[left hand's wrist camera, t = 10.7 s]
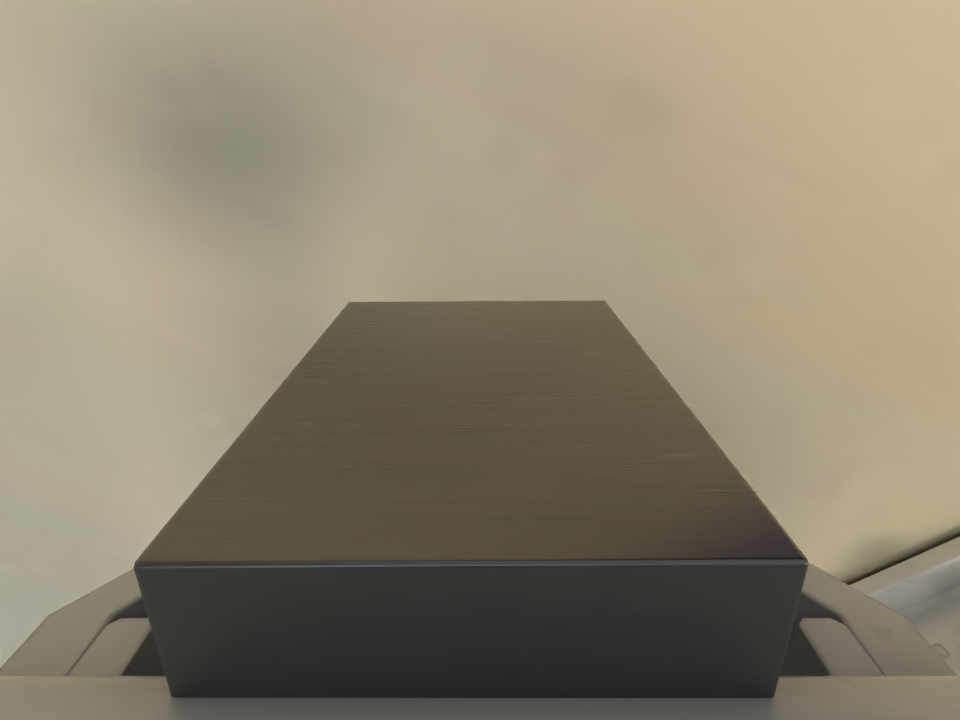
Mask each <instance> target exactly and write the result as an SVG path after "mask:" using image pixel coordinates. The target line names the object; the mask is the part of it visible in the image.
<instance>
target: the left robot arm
mask: <svg viewBox="0 0 960 720" xmlns="http://www.w3.org/2000/svg"><path fill="white" fill-rule="evenodd" d="M0 720H960V536H959V537H957V538H955V539H953V540H950V541H948V542H946V543H944V544H941V545H939V546H937V547H935V548H932V549H930V550H928V551H925V552H923V553H921V554H919V555H916V556H914V557H912V558H910V559H907V560H905V561H903V562H901V563H898V564H896V565H894V566H891V567H889V568H887V569H885V570H882V571H880V572H878V573H876V574H873V575H871V576H869V577H866V578H864V579H862V580H860V581H857V582H855V583H853V584H851V585H848V584H846V583H844V582H842V581H840V580H839V579H837V578H835V577H833V576H832V575H830V574H828V573H826V572H824V571H823V570H821V569H819V568H817V567H815V566H814V565H812V564H810V563H808V569H807V573H806V577H805V581H804V585H803V588H802V592H801V596H800V600H799V604H798V608H797V611H796V615H795V619H794V623H793V627H792V630H791V634H790V638H789V642H788V646H787V650H786V653H785V657H784V661H783V665H782V669H781V672H780V676H779V680H778V684H777V688H776V692H775V695H774V697H773V698H174V697H172V696H171V694H170V690H169V687H168V684H167V680H166V677H165V673H164V670H163V667H162V663H161V660H160V656H159V653H158V649H157V646H156V643H155V639H154V636H153V632H152V629H151V625H150V622H149V619H148V615H147V612H146V608H145V605H144V602H143V598H142V595H141V591H140V588H139V584H138V581H137V578H136V574H135V571H134V569H132V570H131V571H129V572H127V573H125V574H123V575H121V576H120V577H118V578H116V579H114V580H112V581H111V582H109V583H107V584H105V585H103V586H101V587H100V588H98V589H96V590H94V591H92V592H91V593H89V594H87V595H85V596H83V597H81V598H80V599H78V600H76V601H74V602H72V603H71V604H69V605H67V606H65V607H63V608H61V609H60V610H58V611H56V612H54V613H52V614H51V615H49V616H48V617H47V618H46V619H45V620H44V621H43V622H42V623H41V624H40V625H39V627H38V628H37V629H36V630H35V631H34V632H33V633H32V634H31V635H30V636H29V638H28V639H27V640H26V641H25V642H24V643H23V644H22V645H21V646H20V647H19V648H18V650H17V651H16V652H15V653H14V654H13V655H12V656H11V657H10V658H9V659H8V661H7V662H6V663H5V664H4V665H3V666H2V667H1V668H0Z"/></svg>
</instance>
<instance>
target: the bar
mask: <svg viewBox="0 0 960 720" xmlns="http://www.w3.org/2000/svg"><path fill="white" fill-rule="evenodd" d="M807 569H808V561H807V558H806V557H805V556H804V555H803V553H802V552H801V551H800V549H799V548H798V547H797V546H796V544H795V543H794V542H793V540H792V539H791V538H790V537H789V535H788V534H787V533H786V532H785V530H784V529H783V528H782V526H781V525H780V524H779V523H778V521H777V520H776V519H775V518H774V516H773V515H772V514H771V512H770V511H769V510H768V509H767V507H766V506H765V505H764V503H763V502H762V501H761V500H760V498H759V497H758V496H757V495H756V493H755V492H754V491H753V489H752V488H751V487H750V486H749V484H748V483H747V482H746V480H745V479H744V478H743V477H742V475H741V474H740V473H739V472H738V470H737V469H736V468H735V466H734V465H733V464H732V463H731V461H730V460H729V459H728V458H727V456H726V455H725V454H724V452H723V451H722V450H721V449H720V447H719V446H718V445H717V443H716V442H715V441H714V440H713V438H712V437H711V436H710V435H709V433H708V432H707V431H706V429H705V428H704V427H703V426H702V424H701V423H700V422H699V420H698V419H697V418H696V417H695V415H694V414H693V413H692V412H691V410H690V409H689V408H688V406H687V405H686V404H685V403H684V401H683V400H682V399H681V397H680V396H679V395H678V394H677V392H676V391H675V390H674V389H673V387H672V386H671V385H670V383H669V382H668V381H667V380H666V378H665V377H664V376H663V375H662V373H661V372H660V371H659V369H658V368H657V367H656V366H655V364H654V363H653V362H652V360H651V359H650V358H649V357H648V355H647V354H646V353H645V352H644V350H643V349H642V348H641V346H640V345H639V344H638V343H637V341H636V340H635V339H634V337H633V336H632V335H631V334H630V332H629V331H628V330H627V329H626V327H625V326H624V325H623V323H622V322H621V321H620V320H619V318H618V317H617V316H616V314H615V313H614V312H613V311H612V309H611V308H610V307H609V306H608V304H607V303H606V302H605V301H462V302H349V303H348V304H347V305H346V306H345V308H344V309H343V310H342V311H341V312H340V314H339V315H338V316H337V317H336V319H335V320H334V321H333V322H332V323H331V325H330V326H329V327H328V328H327V329H326V331H325V332H324V333H323V334H322V336H321V337H320V338H319V339H318V340H317V342H316V343H315V344H314V345H313V347H312V348H311V349H310V350H309V351H308V353H307V354H306V355H305V356H304V357H303V359H302V360H301V361H300V362H299V364H298V365H297V366H296V367H295V368H294V370H293V371H292V372H291V373H290V374H289V376H288V377H287V378H286V379H285V381H284V382H283V383H282V384H281V385H280V387H279V388H278V389H277V390H276V391H275V393H274V394H273V395H272V396H271V398H270V399H269V400H268V401H267V402H266V404H265V405H264V406H263V407H262V408H261V410H260V411H259V412H258V413H257V415H256V416H255V417H254V418H253V419H252V421H251V422H250V423H249V424H248V425H247V427H246V428H245V429H244V430H243V432H242V433H241V434H240V435H239V436H238V438H237V439H236V440H235V441H234V443H233V444H232V445H231V446H230V447H229V449H228V450H227V451H226V452H225V453H224V455H223V456H222V457H221V458H220V460H219V461H218V462H217V463H216V464H215V466H214V467H213V468H212V469H211V470H210V472H209V473H208V474H207V475H206V477H205V478H204V479H203V480H202V481H201V483H200V484H199V485H198V486H197V487H196V489H195V490H194V491H193V492H192V494H191V495H190V496H189V497H188V498H187V500H186V501H185V502H184V503H183V504H182V506H181V507H180V508H179V509H178V511H177V512H176V513H175V514H174V515H173V517H172V518H171V519H170V520H169V521H168V523H167V524H166V525H165V526H164V528H163V529H162V530H161V531H160V532H159V534H158V535H157V536H156V537H155V539H154V540H153V541H152V542H151V543H150V545H149V546H148V547H147V548H146V549H145V551H144V552H143V553H142V554H141V556H140V557H139V558H138V559H137V560H136V562H135V565H134V571H135V574H136V578H137V581H138V584H139V588H140V591H141V595H142V598H143V602H144V605H145V608H146V612H147V615H148V619H149V622H150V625H151V629H152V632H153V636H154V639H155V643H156V646H157V649H158V653H159V656H160V660H161V663H162V667H163V670H164V673H165V677H166V680H167V684H168V687H169V690H170V694H171V696H172V697H174V698H773V697H774V695H775V692H776V688H777V684H778V680H779V676H780V672H781V669H782V665H783V661H784V657H785V653H786V650H787V646H788V642H789V638H790V634H791V630H792V627H793V623H794V619H795V615H796V611H797V608H798V604H799V600H800V596H801V592H802V588H803V585H804V581H805V577H806V573H807Z"/></svg>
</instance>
